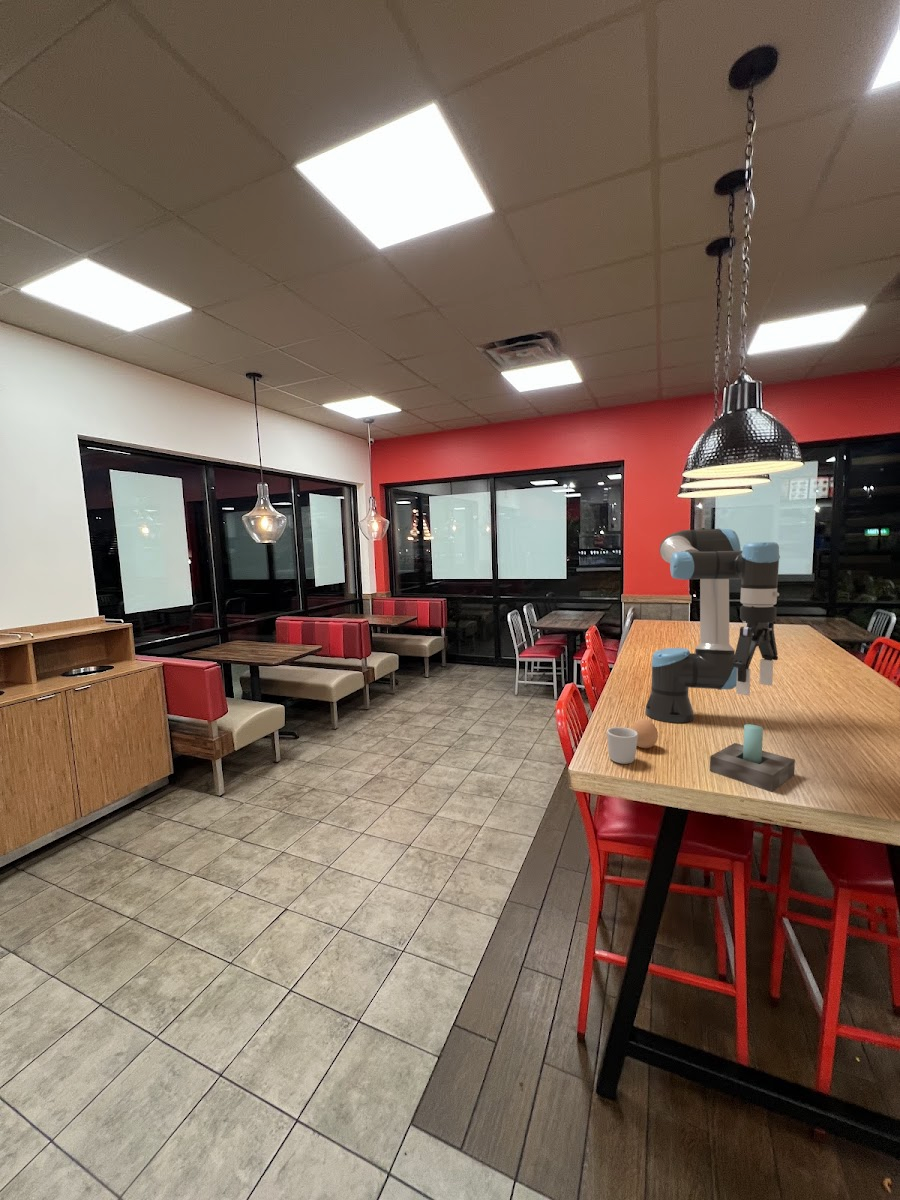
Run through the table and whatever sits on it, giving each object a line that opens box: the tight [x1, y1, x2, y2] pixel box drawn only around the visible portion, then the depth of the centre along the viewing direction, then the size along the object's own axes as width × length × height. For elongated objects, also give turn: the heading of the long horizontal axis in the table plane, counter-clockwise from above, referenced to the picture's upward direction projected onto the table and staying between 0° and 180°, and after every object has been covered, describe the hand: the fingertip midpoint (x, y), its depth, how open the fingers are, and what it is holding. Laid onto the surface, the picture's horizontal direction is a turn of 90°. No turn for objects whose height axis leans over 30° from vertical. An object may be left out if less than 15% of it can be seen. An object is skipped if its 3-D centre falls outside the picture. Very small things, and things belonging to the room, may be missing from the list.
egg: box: [630, 717, 659, 749], centre depth 137 cm, size 7×7×8 cm
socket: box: [709, 742, 796, 793], centre depth 120 cm, size 14×14×4 cm
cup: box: [606, 726, 638, 765], centre depth 130 cm, size 11×8×8 cm
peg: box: [742, 723, 764, 764], centre depth 120 cm, size 4×4×12 cm
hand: (754, 689), depth 119 cm, fingers open, 13 cm apart
